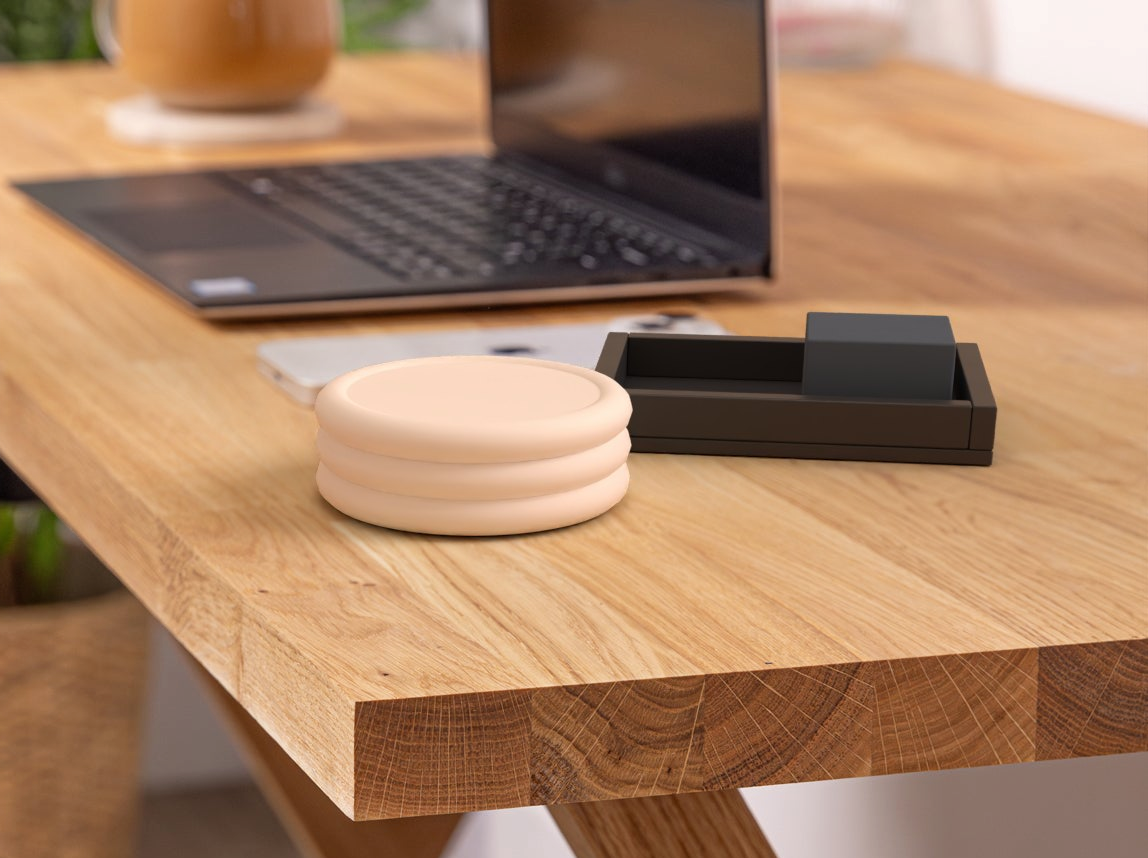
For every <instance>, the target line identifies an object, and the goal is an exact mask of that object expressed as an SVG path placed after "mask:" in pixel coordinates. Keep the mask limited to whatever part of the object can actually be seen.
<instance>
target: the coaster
mask: <svg viewBox="0 0 1148 858" xmlns="http://www.w3.org/2000/svg"><path fill="white" fill-rule="evenodd" d="M313 410H314V414H315V418H316V420H317V423H318V425H319V427H318V430H317V434H316V438H315V441H314V445H315V446H314V447H315V450H316V453H317V456H318V459H319V460H320V461H319V462H318V467H317V470H316V474H315V482H316V485H317V488H318V491H319V493H320V495H321V497H322V498H323V499H324V500H326V501H327V503H329V504H330V505H331V506H332V507H334V508H335V509H336V510H338V511H339V512H341V514H344V515H346V516H348V517H350V518H352V519H355V520H358V521H361V522H363V523H368V524H369V525H370V524H371V525H374V526H378V527H382V528H388V529H393V530H397V531H404V532H405V531H406V532H411V533H417V534H419V533H421V534H429V535H444V536H470V537H472V536H474V537H475V536H476V537H477V536H503V535H504V536H505V535H518V534H527V533H535V532H542V531H548V530H549V531H550V530H555V529H560V528H564V527H565V528H566V527H568V526H572V525H576V524H580V523H583V522H586V521H589V520H592V519H594V518H596V517H599V516H600V515H602V514H604V513H606V512H608V511H609V510H610V509H612V508H613V507H614V506H615V505H617V504H618V503H619V502H620V501H621V500H622V499H623V498H624V497H625V496H626V494H627V490H628V487H629V485H630V481H631V476H630V471H629V468H628V463H627V460H628V457H629V454H630V452H631V451H630V448H631V441H630V437H629V433H628V430H627V428H626V426H627V425H628V423H629V420H630V417H631V414H632V411H633V410H632V405H631V401H630V397H629V395H628V393H627V392H626V390H624V389H623V388H622V387H621V386H620V385H619V384H618V383H617V382H616V381H614V380H613V379H611V378H610V377H608V376H606V375H604V374H601V373H599V372H596V371H595V370H594V369H593V370H592V369H590V368H587V367H582V366H579V365H574V364H569V363H565V362H559V361H553V360H547V359H539V358H529V357H519V356H507V355H476V354H475V355H473V354H470V355H441V356H428V357H427V356H426V357H416V358H408V359H407V358H406V359H400V360H393V361H388V362H387V361H386V362H382V363H376V364H372V365H368V366H364V367H359V368H356V369H353V370H351V371H347V372H344V373H343V374H341V375H339V376H336V377H335V378H333V379H332V380H331V381H329V382H328V383H327V384H325V386H324V387H322V389H320V391H319V392H318V393H317V396H316V399H315V403H314V407H313Z"/></svg>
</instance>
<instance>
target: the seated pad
mask: <svg viewBox="0 0 1148 858" xmlns="http://www.w3.org/2000/svg"><path fill="white" fill-rule="evenodd" d="M805 318H806V319H805V334H804V338H805V348H804V363H803V378H802V395H819V396H847V397H876V398H905V399H934V400H952V389H953V379H954V368H955V357H956V343H957V342H956V340H955V335H954V332H953V328H952V324H951V321H950V317H949V316H948V315H937V314H936V315H933V314H932V315H931V314H928V315H927V314H903V313H901V314H900V313H898V314H897V313H865V312H864V313H863V312H830V311H808V312H807V313H806V317H805Z"/></svg>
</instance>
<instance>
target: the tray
mask: <svg viewBox="0 0 1148 858" xmlns="http://www.w3.org/2000/svg"><path fill="white" fill-rule="evenodd" d="M804 348H805V337H797V336H795V337H794V336H790V337H789V336H764V335H763V336H762V335H761V336H760V335H731V334H730V335H729V334H702V333H701V334H700V333H699V334H695V333H666V332H665V333H663V332H636V331H635V332H634V331H633V332H627V331H625V332H624V331H609V332H608V333H607V336H606V338H605V341H604V344H603V347H602V349H601V351H600V355H599V357H598V360H597V362H596V366H595V368H594V371H596V372H599V373H601V374H604V375H606V376H608V377H610V378H611V379H613V380H614V381H616V382H617V383H618V384H619V385H620V386H621V387H622V388H623V389H624V390H626V392H627V393H628V395H629V397H630V401H631V405H632V410H633V411H632V414H631V417H630V420H629V423H628V425H627V426H626V428H627V430H628V433H629V437H630V441H631V448H630V451H629V452H638V453H639V452H641V453H643V452H644V453H669V454H691V455H692V454H693V455H694V454H695V455H717V456H719V455H720V456H741V457H742V456H745V457H771V458H795V459H796V458H797V459H799V458H800V459H821V460H823V459H825V460H826V459H827V460H844V461H845V460H847V461H848V460H850V461H872V462H874V461H876V462H877V461H878V462H899V463H924V464H925V463H926V464H927V463H929V464H951V465H952V464H953V465H976V466H992V465H993V456H994V451H993V450H994V449H995V437H996V428H997V427H996V426H997V419H998V418H997V416H998V406H997V403H996V398H995V396H994V393H993V390H992V386H991V383H990V380H989V378H988V374H987V371H986V367H985V363H984V361H983V357H982V355H981V351H980V349H979V345H978V343H977V342H956V357H955V368H954V379H953V389H952V400H934V399H905V398H876V397H847V396H819V395H802V378H803V363H804Z"/></svg>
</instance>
